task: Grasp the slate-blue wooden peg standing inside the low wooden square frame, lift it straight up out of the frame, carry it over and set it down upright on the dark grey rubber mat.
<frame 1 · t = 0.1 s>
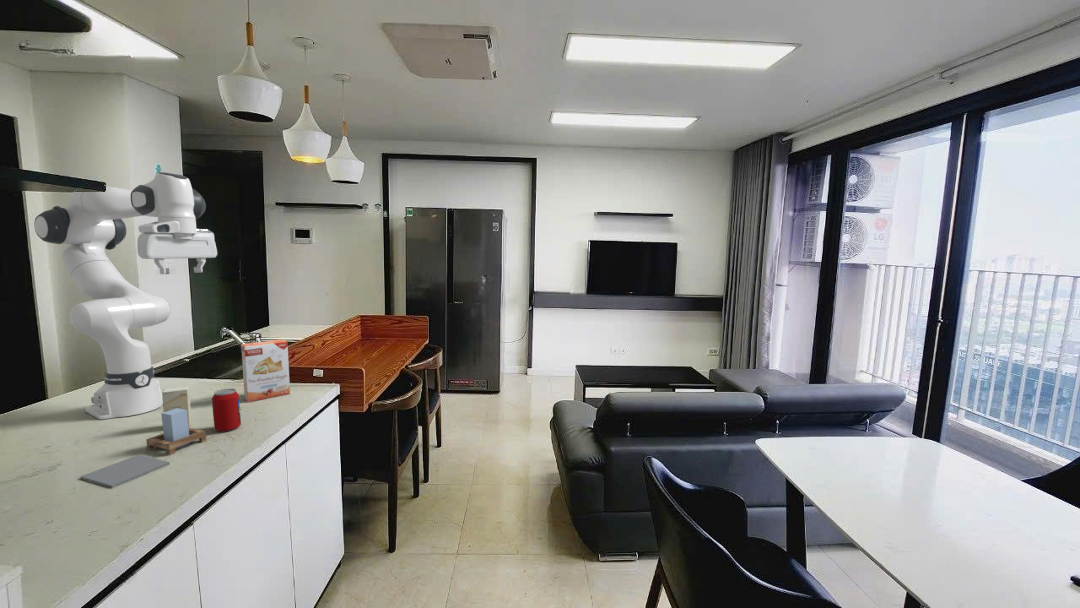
hand: (182, 273, 133), 48 cm above the countertop, fingers open, 8 cm apart
wooden square frame: (177, 445, 123), on the countertop
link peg: (175, 428, 123), in the wooden square frame
beverage can: (228, 429, 135), on the countertop
skincare box: (179, 426, 136), on the countertop
cracker box: (268, 396, 164), on the countertop
mat: (126, 471, 109), on the countertop
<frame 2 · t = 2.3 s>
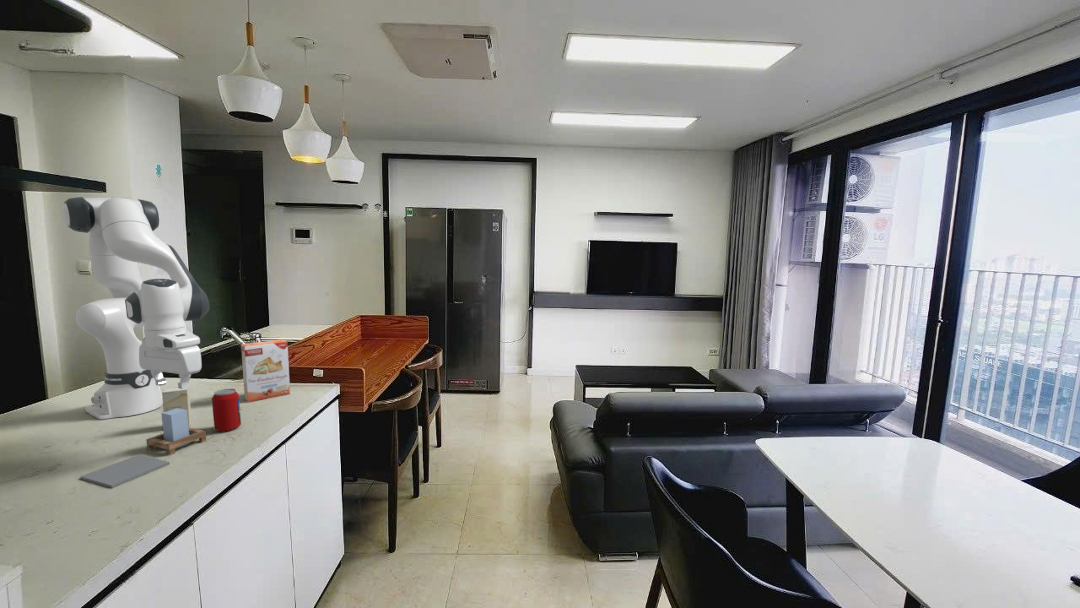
hand: (172, 386, 121), 17 cm above the countertop, fingers open, 8 cm apart
nothing on the countertop moved.
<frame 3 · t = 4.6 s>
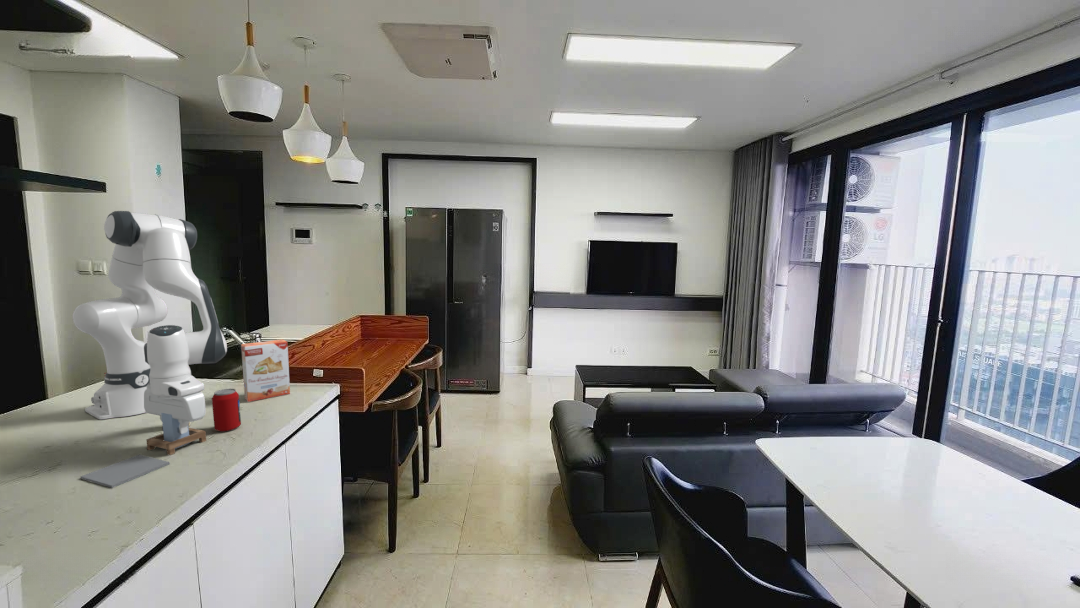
hand: (176, 431, 123), 4 cm above the countertop, fingers closed on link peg, 4 cm apart
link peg: (175, 428, 123), in the wooden square frame, touching gripper
everything else where it was.
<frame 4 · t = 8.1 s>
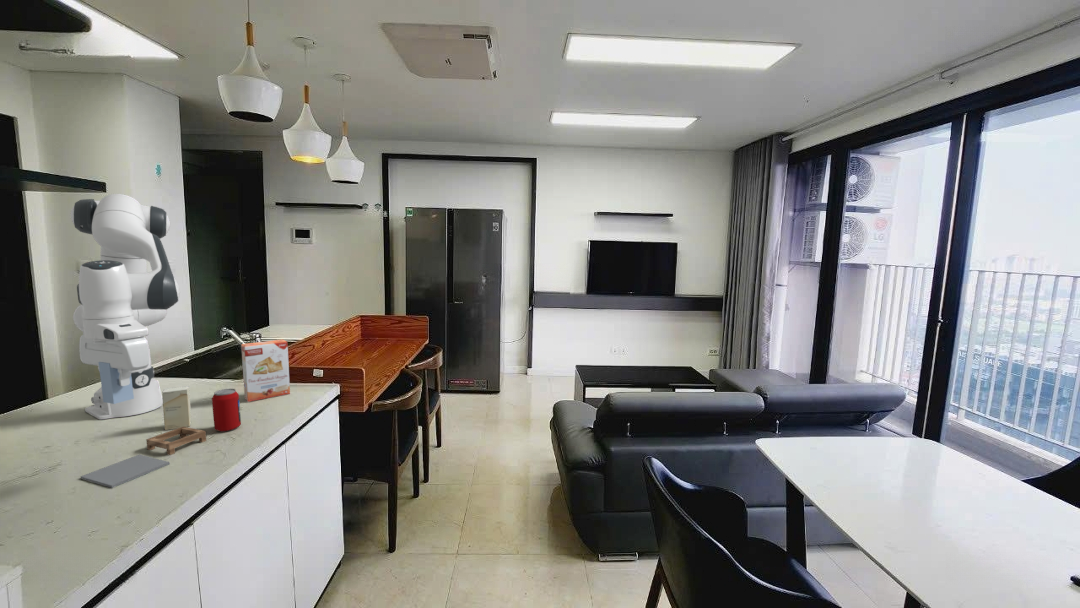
hand: (116, 384, 106), 23 cm above the countertop, fingers closed on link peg, 4 cm apart
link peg: (116, 380, 106), point 24 cm above the countertop, touching gripper
everything else where it was.
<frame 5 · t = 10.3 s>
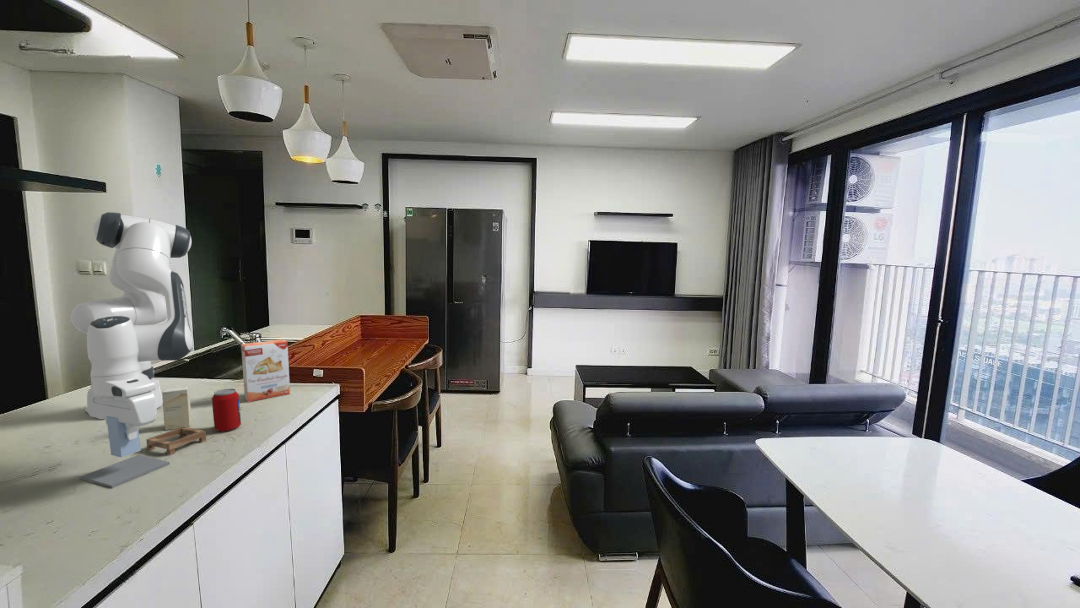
hand: (124, 437, 108), 9 cm above the countertop, fingers closed on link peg, 4 cm apart
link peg: (123, 433, 108), point 10 cm above the countertop, touching gripper
everything else where it was.
when the fingers open (6 cm above the countertop, at t = 11.9 s): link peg stays where it is, resting on mat.
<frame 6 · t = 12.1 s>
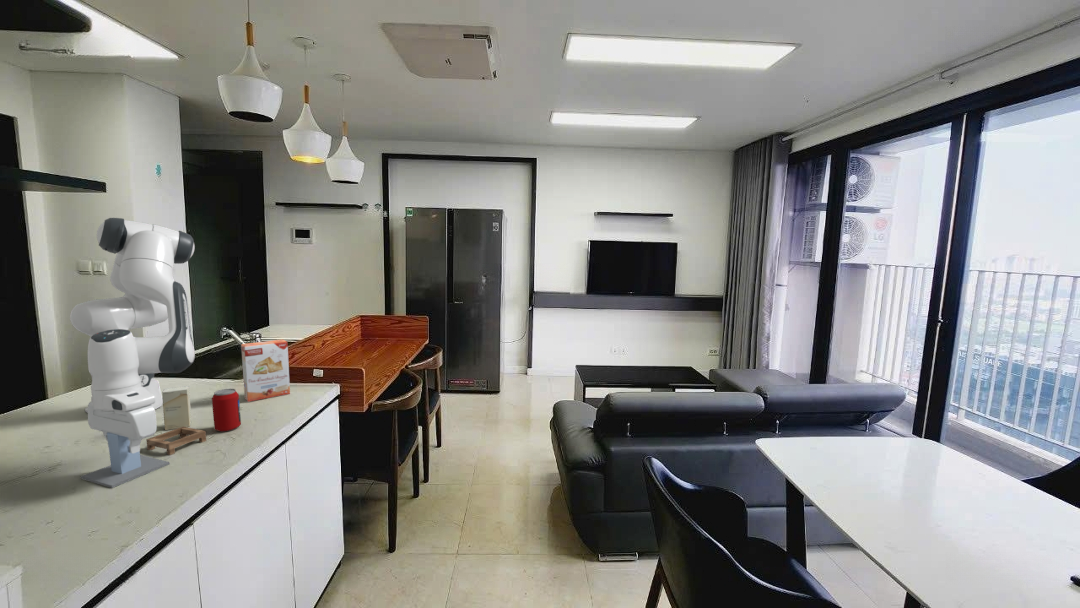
hand: (124, 449, 108), 6 cm above the countertop, fingers open, 6 cm apart
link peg: (124, 449, 108), on the mat, point 6 cm above the countertop
everything else where it was.
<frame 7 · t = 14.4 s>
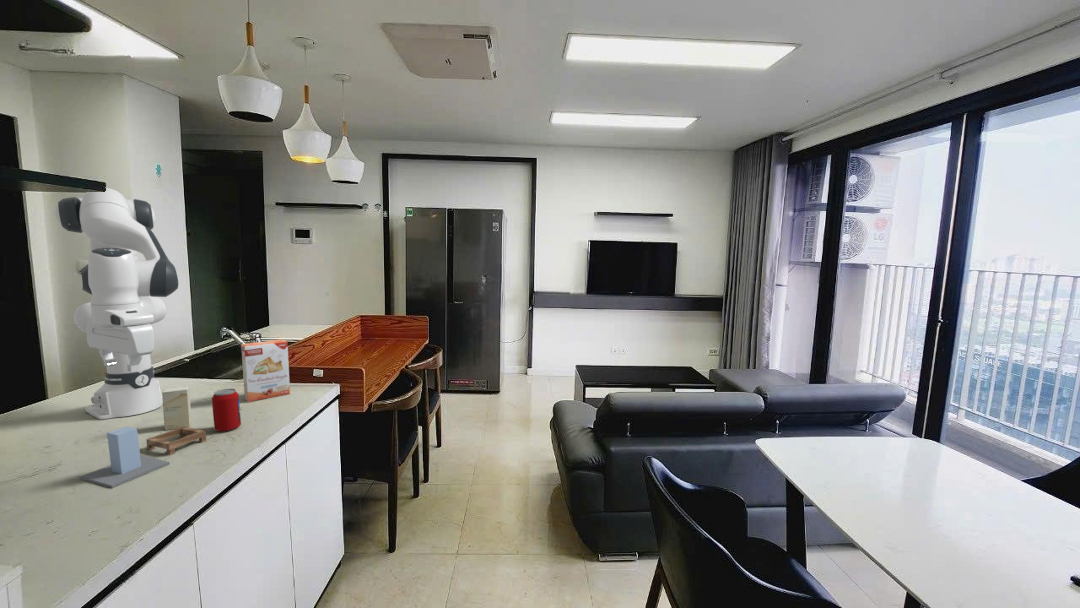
hand: (121, 368, 109), 26 cm above the countertop, fingers open, 8 cm apart
nothing on the countertop moved.
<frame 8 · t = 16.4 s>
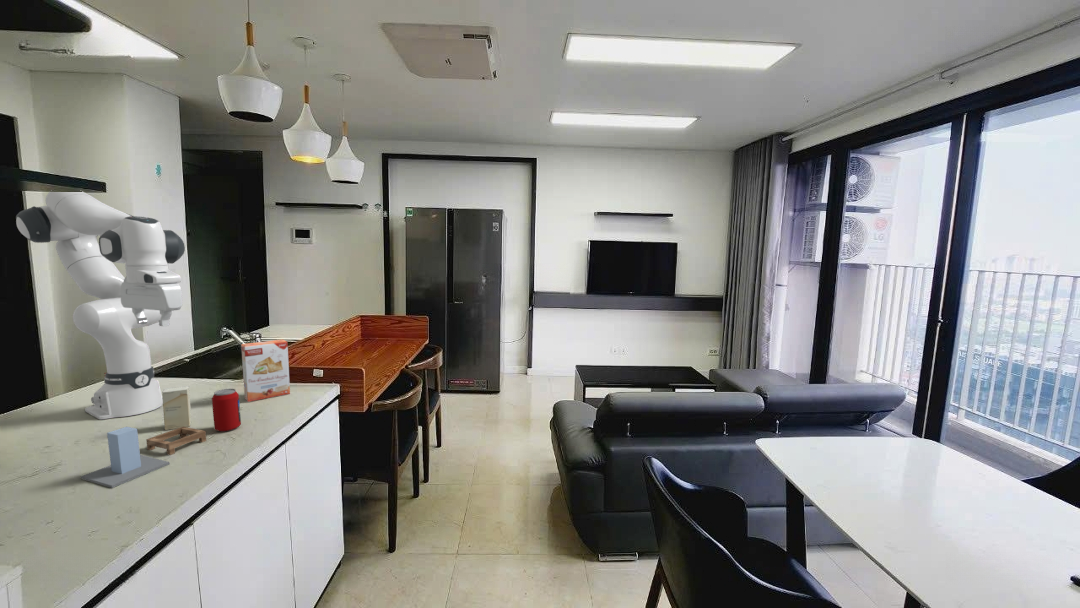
hand: (153, 324, 122), 34 cm above the countertop, fingers open, 8 cm apart
nothing on the countertop moved.
at the end: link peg inside the target area on the mat (0.1 cm from its centre), point 5.6 cm above the mat's base; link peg tilted 0°; the gripper is holding nothing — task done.
